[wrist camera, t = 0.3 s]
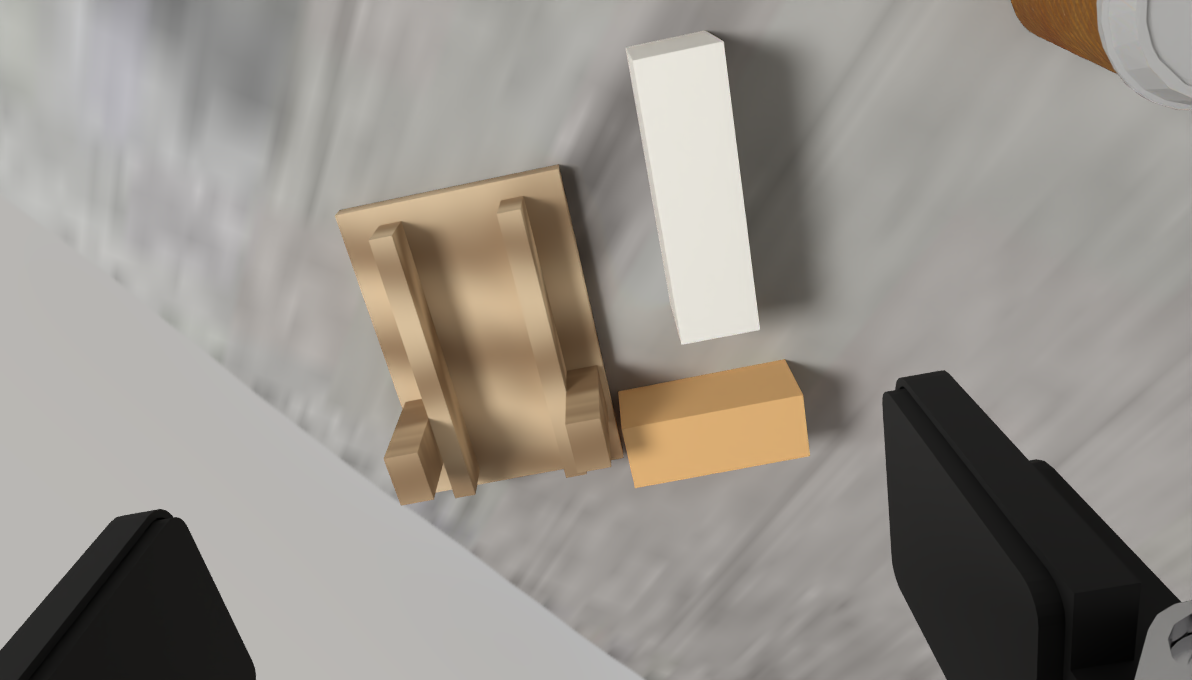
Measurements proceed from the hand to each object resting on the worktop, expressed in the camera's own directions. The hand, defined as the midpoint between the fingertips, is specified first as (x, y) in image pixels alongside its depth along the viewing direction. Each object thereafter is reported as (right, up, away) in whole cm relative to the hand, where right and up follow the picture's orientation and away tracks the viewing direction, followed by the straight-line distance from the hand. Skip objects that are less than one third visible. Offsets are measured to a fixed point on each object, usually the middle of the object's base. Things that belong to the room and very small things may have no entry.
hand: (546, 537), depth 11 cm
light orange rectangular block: (+7, -1, +39) cm, 40 cm away
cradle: (-5, +3, +37) cm, 37 cm away
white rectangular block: (+5, +11, +33) cm, 36 cm away
